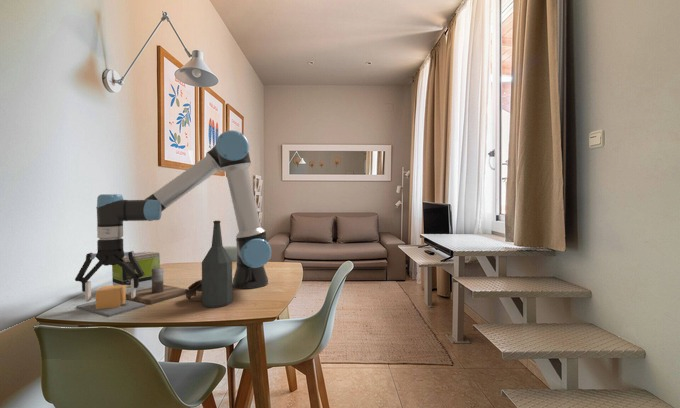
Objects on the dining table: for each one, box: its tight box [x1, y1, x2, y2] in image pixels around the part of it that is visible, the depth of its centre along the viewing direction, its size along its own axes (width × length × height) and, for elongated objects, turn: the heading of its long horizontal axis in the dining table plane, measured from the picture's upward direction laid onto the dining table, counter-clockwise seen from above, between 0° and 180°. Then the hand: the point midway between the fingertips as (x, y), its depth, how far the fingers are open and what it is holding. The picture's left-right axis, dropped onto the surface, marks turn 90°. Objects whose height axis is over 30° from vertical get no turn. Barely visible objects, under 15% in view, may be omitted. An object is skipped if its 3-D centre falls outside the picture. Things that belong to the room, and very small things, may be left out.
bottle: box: [201, 220, 233, 309], centre depth 122 cm, size 10×10×30 cm
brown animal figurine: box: [185, 279, 202, 300], centre depth 128 cm, size 12×9×8 cm
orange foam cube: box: [95, 285, 127, 309], centre depth 118 cm, size 7×7×6 cm
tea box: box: [111, 250, 161, 294], centre depth 143 cm, size 15×10×15 cm
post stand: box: [126, 267, 189, 305], centre depth 132 cm, size 16×16×10 cm
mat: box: [75, 299, 147, 317], centre depth 118 cm, size 20×12×1 cm, turn 63°
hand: (111, 299), depth 118 cm, fingers open, 13 cm apart
